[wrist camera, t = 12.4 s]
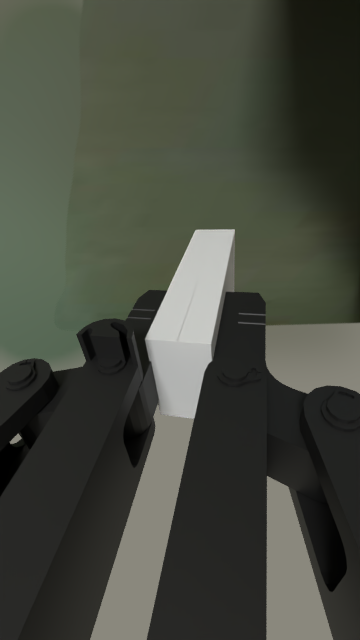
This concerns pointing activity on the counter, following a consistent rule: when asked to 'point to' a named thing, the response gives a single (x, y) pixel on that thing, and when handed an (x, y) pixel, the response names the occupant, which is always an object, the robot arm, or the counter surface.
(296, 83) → the counter surface
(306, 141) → the counter surface
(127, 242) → the counter surface
